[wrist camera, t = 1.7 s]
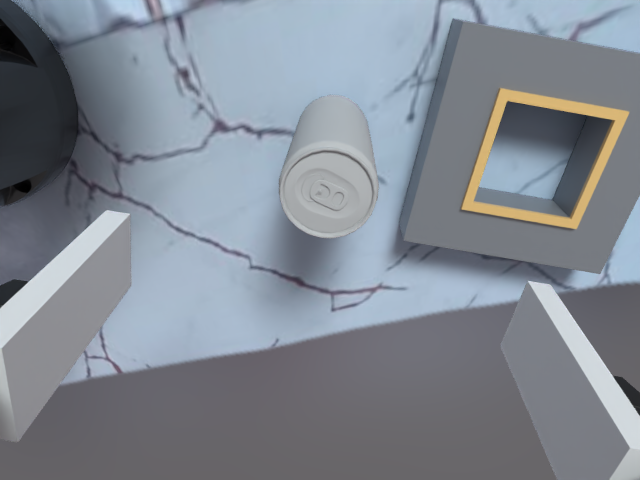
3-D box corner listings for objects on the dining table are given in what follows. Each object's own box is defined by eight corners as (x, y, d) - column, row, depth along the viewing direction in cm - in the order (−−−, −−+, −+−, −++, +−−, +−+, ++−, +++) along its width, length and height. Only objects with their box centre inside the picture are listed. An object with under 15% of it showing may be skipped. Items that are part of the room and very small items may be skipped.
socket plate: (399, 222, 37) (403, 242, 34) (453, 18, 30) (464, 22, 27) (581, 253, 37) (601, 276, 34) (673, 59, 31) (707, 66, 28)
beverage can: (316, 80, 32) (301, 126, 22) (381, 112, 33) (398, 172, 22) (287, 145, 34) (261, 217, 24) (349, 174, 35) (351, 255, 24)
